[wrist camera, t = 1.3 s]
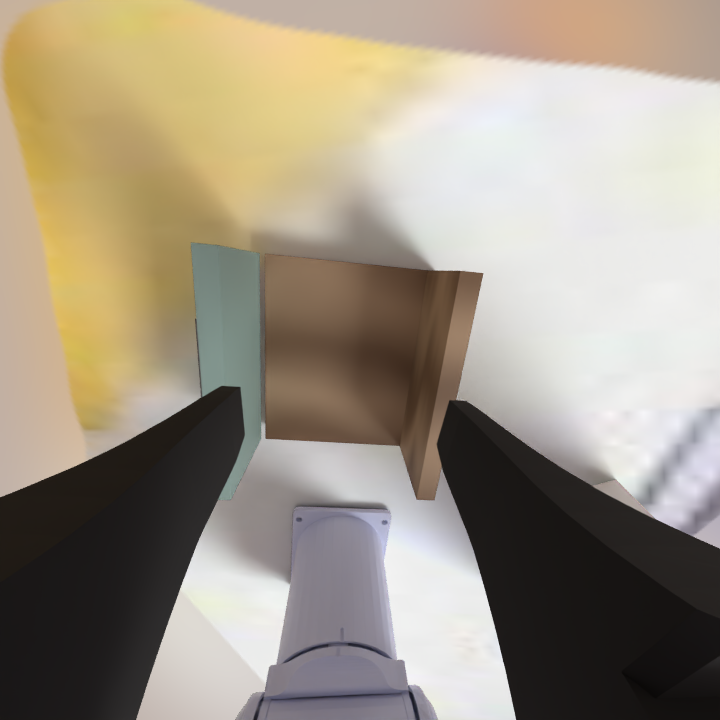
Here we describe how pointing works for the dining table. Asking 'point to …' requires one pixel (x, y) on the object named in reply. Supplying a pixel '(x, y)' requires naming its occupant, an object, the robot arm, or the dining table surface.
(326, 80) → the dining table surface
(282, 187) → the dining table surface
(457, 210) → the dining table surface
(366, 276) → the cart bed
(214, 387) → the panel
